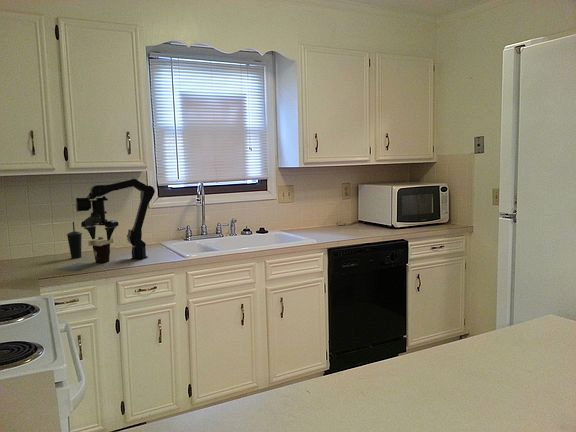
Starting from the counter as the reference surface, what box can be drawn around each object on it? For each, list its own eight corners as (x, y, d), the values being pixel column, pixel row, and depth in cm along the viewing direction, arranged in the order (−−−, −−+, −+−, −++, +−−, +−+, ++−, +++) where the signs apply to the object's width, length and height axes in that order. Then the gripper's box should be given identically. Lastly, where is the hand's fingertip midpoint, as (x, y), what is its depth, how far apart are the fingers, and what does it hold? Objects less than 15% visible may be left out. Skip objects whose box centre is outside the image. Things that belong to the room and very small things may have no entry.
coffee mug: (93, 262, 246) (91, 243, 245) (111, 260, 249) (109, 241, 248) (94, 266, 235) (92, 246, 234) (112, 264, 239) (111, 244, 238)
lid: (113, 242, 245) (112, 235, 244) (99, 246, 235) (99, 239, 235) (102, 242, 247) (101, 235, 247) (88, 245, 238) (87, 238, 237)
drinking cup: (69, 257, 260) (66, 221, 257) (84, 256, 262) (81, 220, 260) (68, 260, 253) (64, 223, 250) (83, 259, 255) (80, 222, 253)
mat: (100, 264, 239) (100, 263, 239) (77, 271, 224) (77, 271, 224) (77, 263, 244) (77, 262, 244) (53, 270, 229) (53, 269, 229)
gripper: (71, 211, 235) (74, 242, 236) (102, 211, 229) (105, 243, 230) (87, 209, 245) (90, 239, 247) (118, 209, 239) (120, 239, 241)
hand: (101, 240), depth 241 cm, fingers open, 9 cm apart
